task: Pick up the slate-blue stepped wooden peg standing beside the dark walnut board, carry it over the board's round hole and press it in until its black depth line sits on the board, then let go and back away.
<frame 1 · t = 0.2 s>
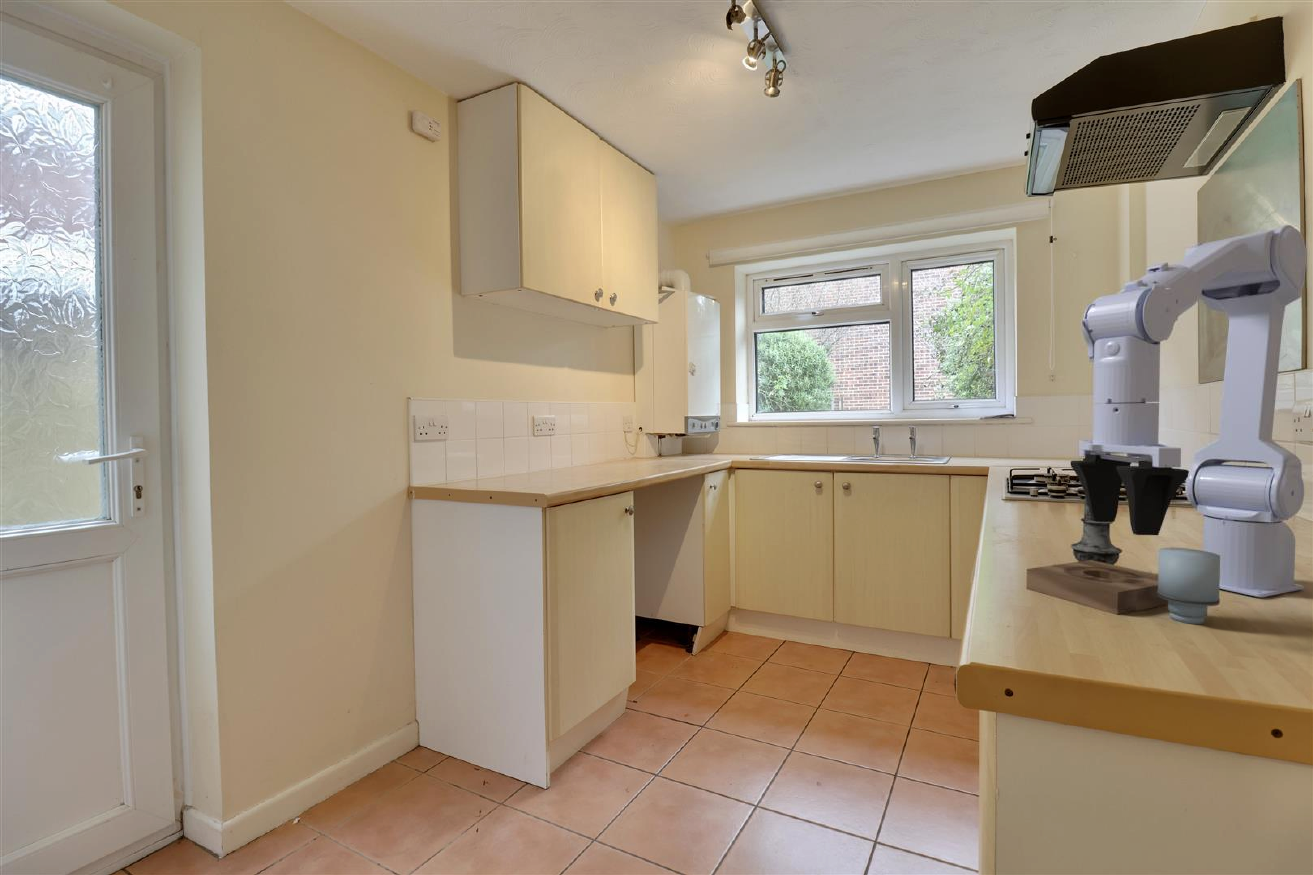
hand: (1123, 527, 67), 10 cm above the worktop, fingers open, 7 cm apart
grey flared cylinder: (1095, 574, 86), on the worktop
peg: (1187, 619, 67), on the worktop
board: (1102, 594, 76), on the worktop
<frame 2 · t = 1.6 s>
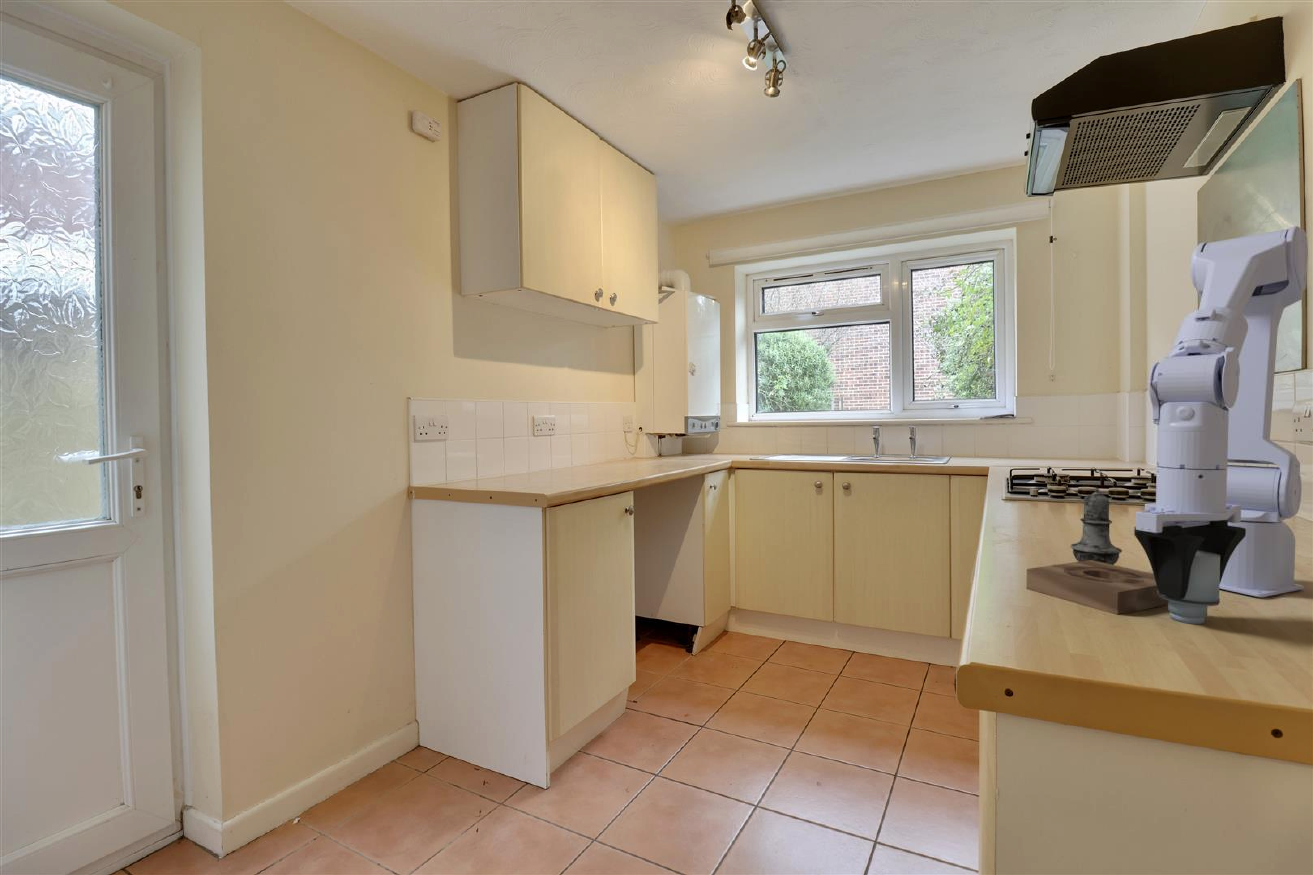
hand: (1187, 593, 66), 3 cm above the worktop, fingers closed on peg, 5 cm apart
peg: (1187, 619, 67), on the worktop, touching gripper
everything else where it was.
when the fingers open (3 cm above the worktop, at t = 5.4 s): peg stays where it is, resting on board.
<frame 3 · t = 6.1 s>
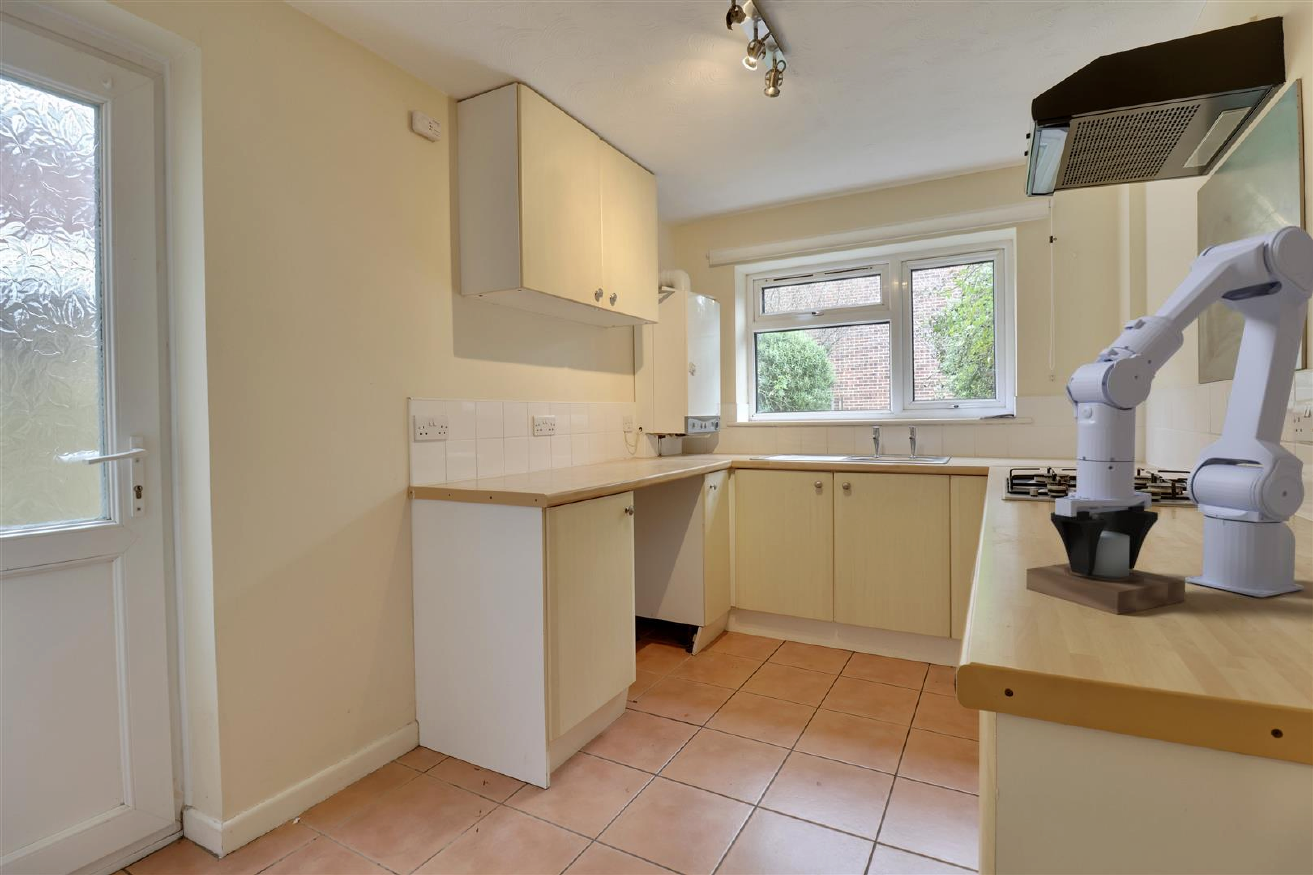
hand: (1102, 570, 76), 3 cm above the worktop, fingers open, 7 cm apart
peg: (1102, 593, 76), resting on board
everything else where it was.
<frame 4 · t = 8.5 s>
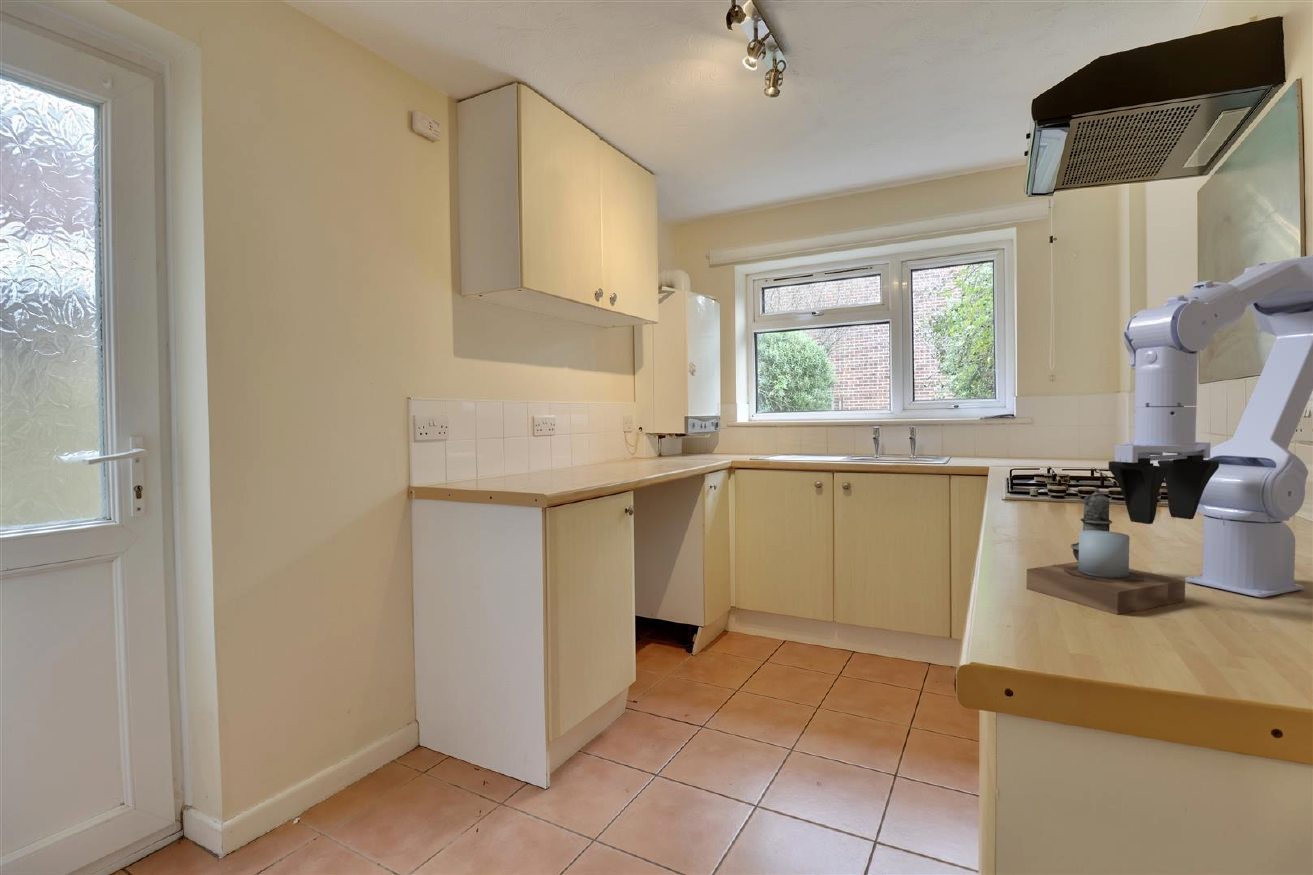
hand: (1162, 520, 74), 9 cm above the worktop, fingers open, 7 cm apart
nothing on the worktop moved.
at the end: peg 0.0 cm off-centre on the board, point 0.2 cm above the board's base; peg tilted 0°; the gripper is holding nothing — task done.
